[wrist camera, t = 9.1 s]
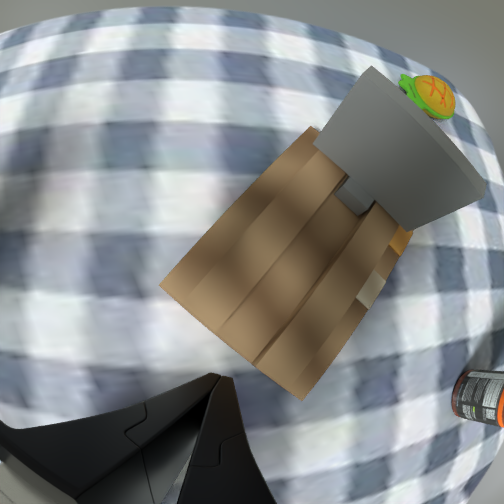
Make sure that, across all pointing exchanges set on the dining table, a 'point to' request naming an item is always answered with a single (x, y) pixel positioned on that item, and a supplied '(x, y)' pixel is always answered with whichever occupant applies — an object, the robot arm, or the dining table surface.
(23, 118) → the dining table surface
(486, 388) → the supplement bottle
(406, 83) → the toy pineapple
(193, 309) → the switch base
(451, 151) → the switch lever
